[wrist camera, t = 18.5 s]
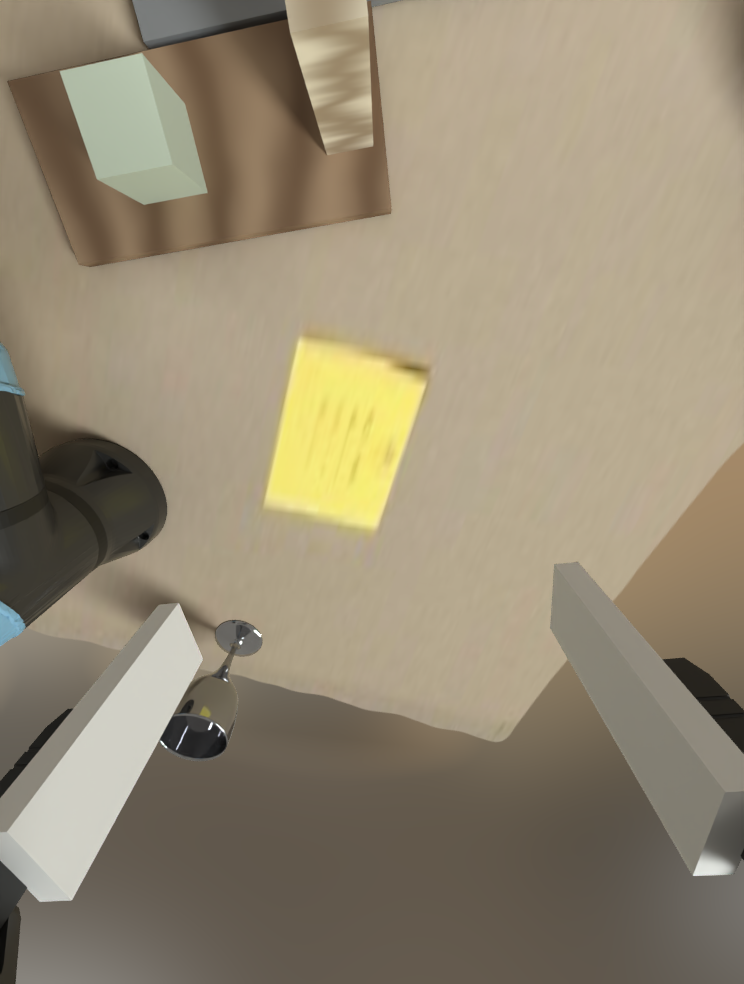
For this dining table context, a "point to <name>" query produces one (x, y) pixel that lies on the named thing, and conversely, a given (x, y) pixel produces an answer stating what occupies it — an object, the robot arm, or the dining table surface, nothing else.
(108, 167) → the sage block
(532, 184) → the dining table surface
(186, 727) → the wine glass
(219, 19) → the gray board with post
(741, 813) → the robot arm
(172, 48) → the wooden base with post
